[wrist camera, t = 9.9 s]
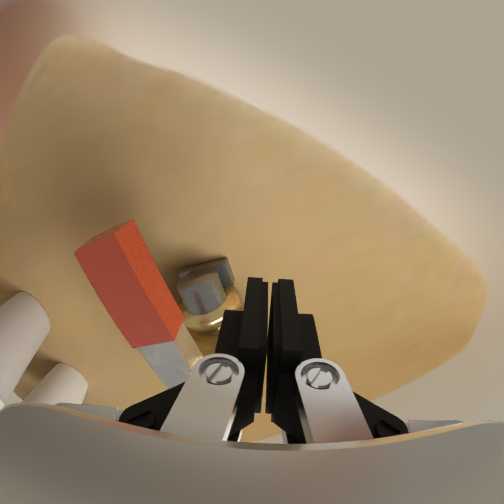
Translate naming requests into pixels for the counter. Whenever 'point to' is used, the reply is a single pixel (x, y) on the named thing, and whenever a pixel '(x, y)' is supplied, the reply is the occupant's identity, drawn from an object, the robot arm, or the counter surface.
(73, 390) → the dixie cup
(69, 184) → the counter surface
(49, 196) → the counter surface
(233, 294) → the valve body
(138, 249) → the lever
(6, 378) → the coffee cup
